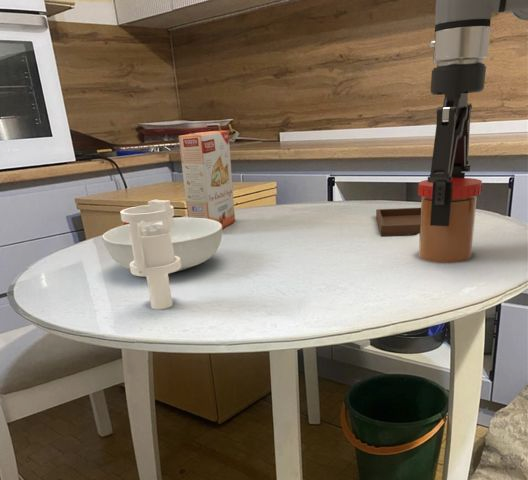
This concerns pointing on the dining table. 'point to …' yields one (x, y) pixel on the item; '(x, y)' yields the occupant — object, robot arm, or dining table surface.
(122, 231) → the serving bowl
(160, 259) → the white framed cylinder holder
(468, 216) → the jar
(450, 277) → the dining table surface
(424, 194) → the lid
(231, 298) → the dining table surface
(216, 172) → the cracker box
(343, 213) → the dining table surface
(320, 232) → the dining table surface
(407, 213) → the tray
